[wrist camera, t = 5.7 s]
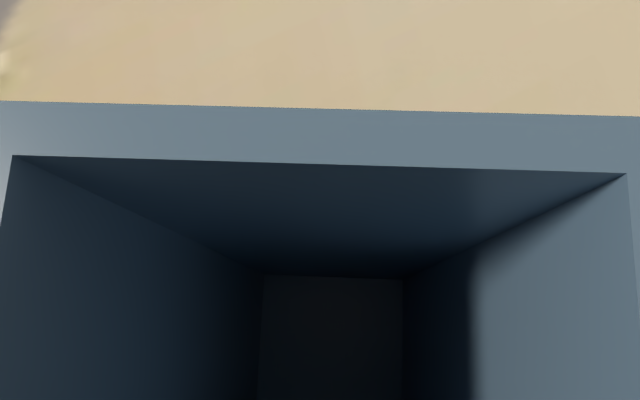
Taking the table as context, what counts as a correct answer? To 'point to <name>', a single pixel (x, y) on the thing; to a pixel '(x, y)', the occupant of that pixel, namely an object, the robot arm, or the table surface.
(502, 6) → the table surface
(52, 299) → the tall slate-blue crate
